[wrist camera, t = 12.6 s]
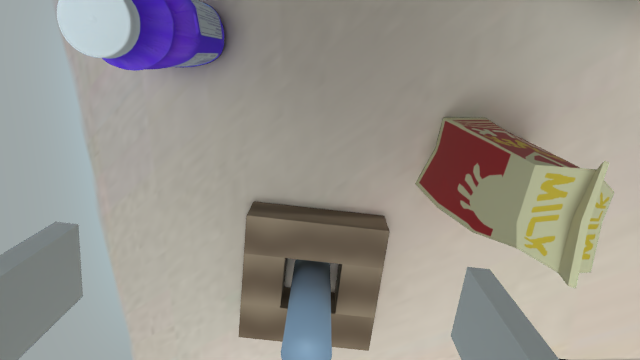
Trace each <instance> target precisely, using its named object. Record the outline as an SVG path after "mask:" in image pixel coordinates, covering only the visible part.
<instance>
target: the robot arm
mask: <svg viewBox="0 0 640 360" xmlns="http://www.w3.org/2000/svg"><path fill="white" fill-rule="evenodd" d="M80 261H81V260H80V245H79V228H78V224H70V223H61V222H54V223H53V224H51V225H49V226H48V227H46V228H44V229H43V230H41V231H39V232H38V233H36V234H34V235H33V236H31V237H29V238H28V239H26V240H24V241H23V242H21V243H19V244H18V245H16V246H15V247H13V248H11V249H10V250H8V251H6V252H5V253H3V254H1V255H0V360H18V359H19V358H20V357H21V356H22V355H23V354H24V353H25V352H26V351H27V350H28V349H29V348H30V347H32V346H33V345H34V344H35V343H36V342H37V341H38V340H39V339H40V338H41V337H42V336H43V334H45V333H46V332H47V331H48V330H49V329H50V328H51V327H52V326H53V325H54V324H55V323H56V322H57V321H58V320H59V319H60V318H61V317H62V316H63V315H64V314H65V313H66V312H67V311H68V310H69V309H70V308H71V307H72V306H73V305H75V304H76V303H77V302H78V300H80V299H81V298H82V296H83V294H82V278H81V262H80ZM451 337H452V339H453V342H454V344H455V346H456V348H457V351H458V353H459V355H460V357H461V360H566V359H558V357H557V356H556V355H555V354H554V352H553V351H552V350H551V348H550V347H549V346H548V345H547V343H546V342H545V341H544V339H543V338H542V337H541V335H540V334H539V333H538V332H537V330H536V329H535V328H534V326H533V325H532V324H531V322H530V321H529V320H528V319H527V317H526V316H525V315H524V313H523V312H522V311H521V309H520V308H519V307H518V306H517V304H516V303H515V302H514V300H513V299H512V298H511V296H510V295H509V294H508V293H507V291H506V290H505V289H504V287H503V286H502V285H501V283H500V282H499V281H498V280H497V278H496V277H495V276H494V274H493V273H492V272H491V270H490V269H481V268H472V267H467V271H466V275H465V279H464V283H463V287H462V291H461V296H460V300H459V304H458V308H457V312H456V316H455V321H454V325H453V329H452V333H451Z"/></svg>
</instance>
